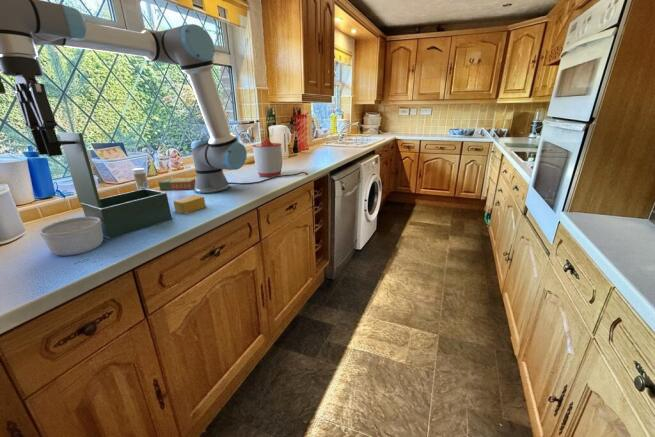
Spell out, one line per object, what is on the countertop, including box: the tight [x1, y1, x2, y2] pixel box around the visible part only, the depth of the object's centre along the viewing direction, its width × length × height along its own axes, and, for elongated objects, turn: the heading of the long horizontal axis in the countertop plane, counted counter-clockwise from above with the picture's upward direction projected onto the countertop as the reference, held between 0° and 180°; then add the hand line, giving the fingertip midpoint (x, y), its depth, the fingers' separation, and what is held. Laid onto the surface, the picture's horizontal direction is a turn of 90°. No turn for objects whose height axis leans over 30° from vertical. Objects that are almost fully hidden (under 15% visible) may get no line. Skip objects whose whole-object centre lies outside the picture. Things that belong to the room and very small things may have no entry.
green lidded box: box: [80, 188, 173, 240], centre depth 99 cm, size 20×13×10 cm
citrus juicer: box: [252, 138, 283, 178], centre depth 167 cm, size 16×17×20 cm
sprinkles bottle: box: [131, 167, 150, 191], centre depth 127 cm, size 5×5×13 cm
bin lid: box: [58, 131, 102, 208], centre depth 84 cm, size 21×13×6 cm
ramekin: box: [39, 216, 104, 257], centre depth 83 cm, size 13×13×7 cm
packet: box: [172, 194, 207, 215], centre depth 114 cm, size 9×6×4 cm, turn 148°
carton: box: [158, 176, 196, 191], centre depth 148 cm, size 8×16×4 cm, turn 89°
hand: (50, 154), depth 80 cm, fingers closed on bin lid, 6 cm apart
